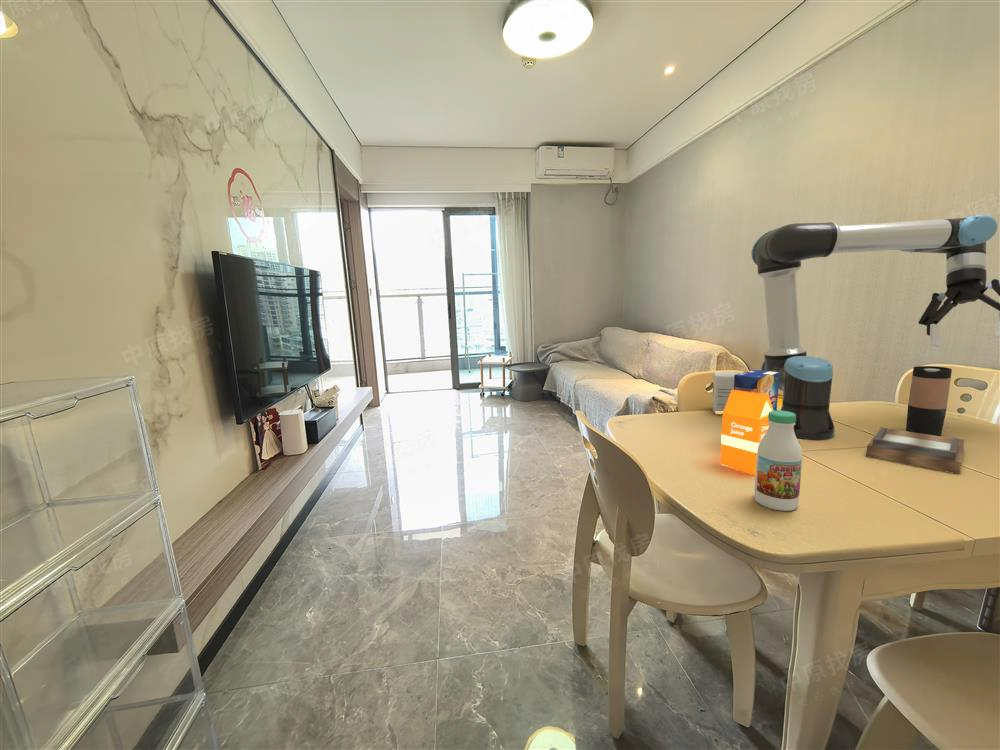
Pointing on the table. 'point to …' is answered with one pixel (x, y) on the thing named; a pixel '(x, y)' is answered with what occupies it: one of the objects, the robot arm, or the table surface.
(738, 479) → the table surface
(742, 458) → the orange juice
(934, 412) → the travel mug
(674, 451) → the table surface
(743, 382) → the beverage box
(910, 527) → the table surface
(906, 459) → the dock
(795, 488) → the milk bottle
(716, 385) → the supplement box
